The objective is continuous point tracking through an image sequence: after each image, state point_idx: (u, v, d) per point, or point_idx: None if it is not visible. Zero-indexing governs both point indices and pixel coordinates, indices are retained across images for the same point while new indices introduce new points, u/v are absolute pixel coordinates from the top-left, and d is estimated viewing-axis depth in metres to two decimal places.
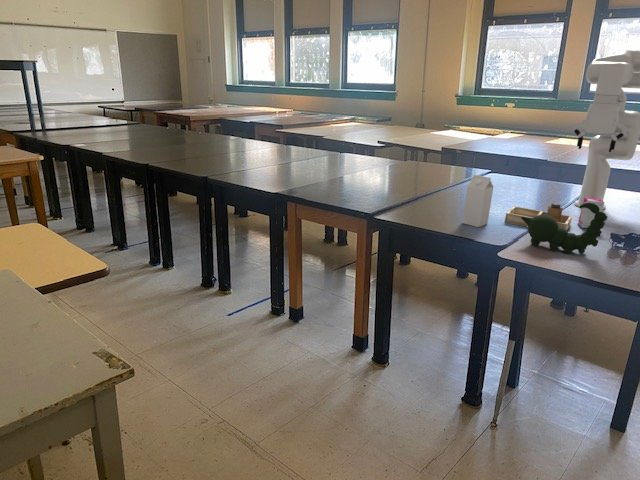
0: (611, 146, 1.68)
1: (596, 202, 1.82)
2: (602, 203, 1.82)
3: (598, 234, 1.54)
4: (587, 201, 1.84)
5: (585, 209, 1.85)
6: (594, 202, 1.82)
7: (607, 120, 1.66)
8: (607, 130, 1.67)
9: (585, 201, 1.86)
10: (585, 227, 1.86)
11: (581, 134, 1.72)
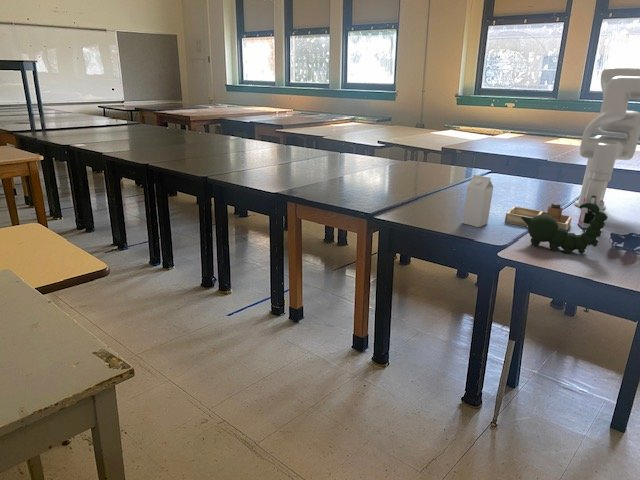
0: None
1: None
2: (602, 203, 1.82)
3: (598, 234, 1.54)
4: None
5: (585, 209, 1.85)
6: None
7: None
8: None
9: None
10: (585, 227, 1.86)
11: None
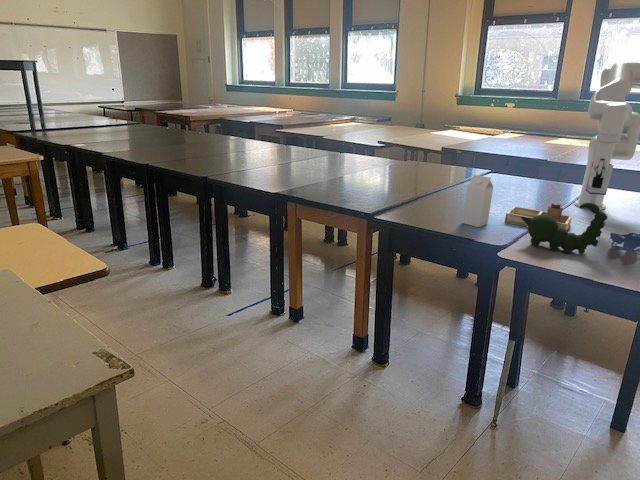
0: None
1: None
2: (611, 166, 1.77)
3: (598, 234, 1.54)
4: None
5: (593, 173, 1.81)
6: None
7: None
8: None
9: None
10: (593, 192, 1.81)
11: (603, 174, 1.77)
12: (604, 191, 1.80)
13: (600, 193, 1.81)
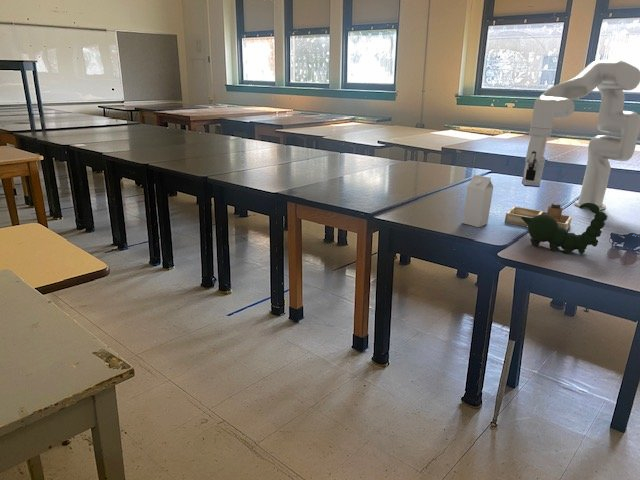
0: None
1: None
2: (543, 159, 1.82)
3: (598, 234, 1.54)
4: None
5: (527, 166, 1.85)
6: None
7: (544, 149, 1.84)
8: None
9: None
10: (527, 184, 1.86)
11: (535, 167, 1.82)
12: (538, 183, 1.85)
13: (534, 185, 1.85)
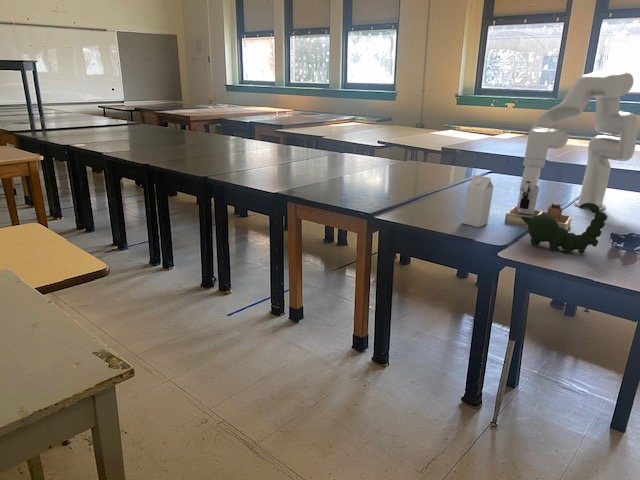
0: None
1: None
2: (537, 188, 1.86)
3: (598, 234, 1.54)
4: None
5: (521, 195, 1.89)
6: None
7: (538, 178, 1.88)
8: None
9: None
10: (522, 212, 1.90)
11: (529, 196, 1.86)
12: (532, 212, 1.89)
13: (528, 213, 1.89)
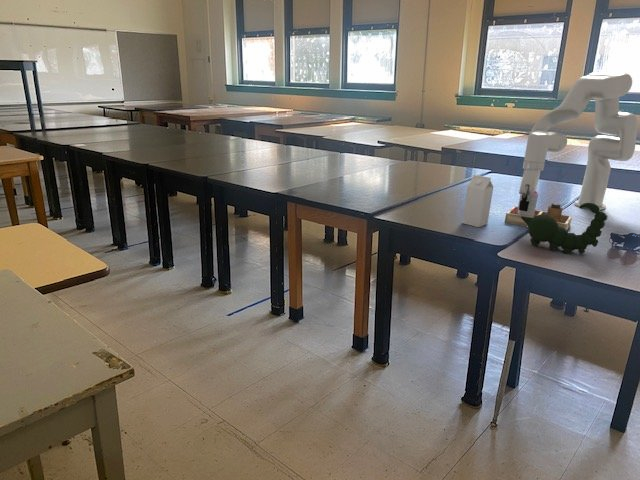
0: None
1: None
2: (536, 195, 1.87)
3: (598, 234, 1.54)
4: None
5: None
6: None
7: None
8: (536, 189, 1.90)
9: None
10: None
11: (528, 198, 1.85)
12: None
13: None
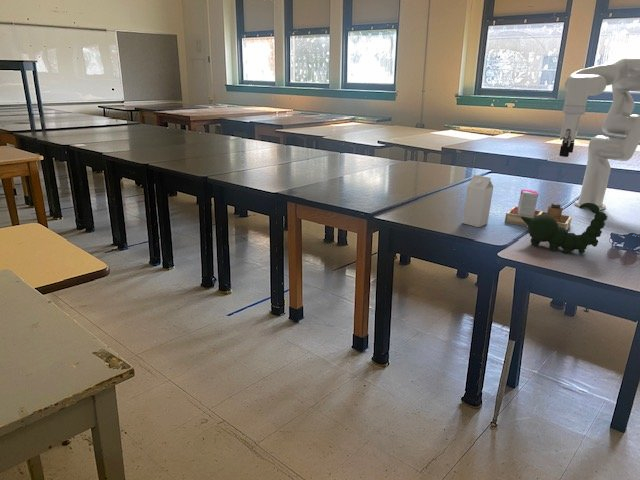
0: None
1: (530, 194, 1.87)
2: (536, 195, 1.87)
3: (598, 234, 1.54)
4: (522, 193, 1.89)
5: (520, 201, 1.90)
6: (528, 194, 1.87)
7: (578, 126, 1.87)
8: (576, 134, 1.89)
9: (521, 193, 1.91)
10: None
11: (569, 143, 1.84)
12: None
13: None
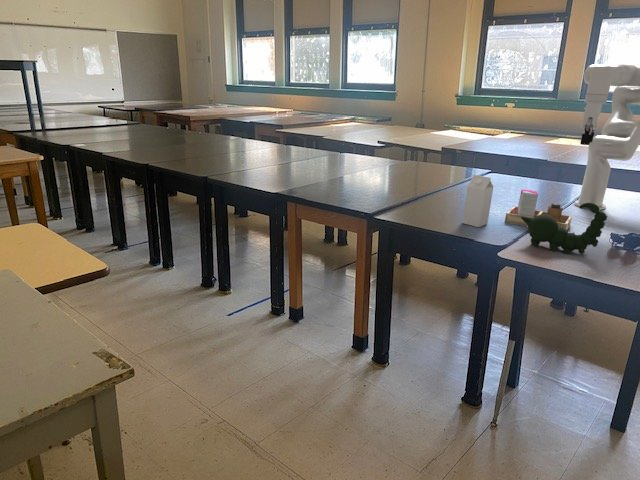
0: (593, 137, 1.95)
1: (530, 194, 1.87)
2: (536, 195, 1.87)
3: (598, 234, 1.54)
4: (522, 193, 1.89)
5: (520, 201, 1.90)
6: (528, 194, 1.87)
7: (599, 116, 1.90)
8: None
9: (521, 193, 1.91)
10: None
11: (591, 131, 1.86)
12: None
13: None
